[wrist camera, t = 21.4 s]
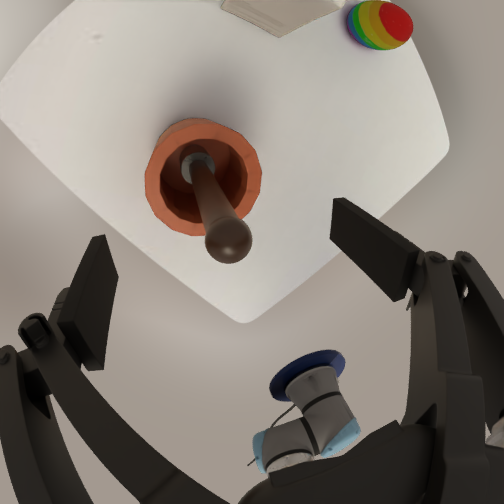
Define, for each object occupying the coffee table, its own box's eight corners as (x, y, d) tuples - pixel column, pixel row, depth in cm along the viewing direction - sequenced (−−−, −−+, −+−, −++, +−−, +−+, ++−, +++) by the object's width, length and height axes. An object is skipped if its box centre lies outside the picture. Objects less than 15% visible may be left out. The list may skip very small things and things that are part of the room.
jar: (212, 205, 37) (231, 248, 27) (142, 180, 32) (129, 216, 22) (246, 137, 33) (280, 153, 23) (173, 106, 29) (173, 105, 19)
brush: (207, 142, 32) (270, 210, 12) (209, 170, 33) (270, 275, 14) (177, 146, 31) (190, 223, 12) (181, 174, 33) (201, 288, 14)
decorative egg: (355, 57, 30) (402, 54, 22) (330, 12, 26) (373, -4, 18) (388, 44, 30) (435, 42, 21) (366, 2, 25) (411, -9, 17)
